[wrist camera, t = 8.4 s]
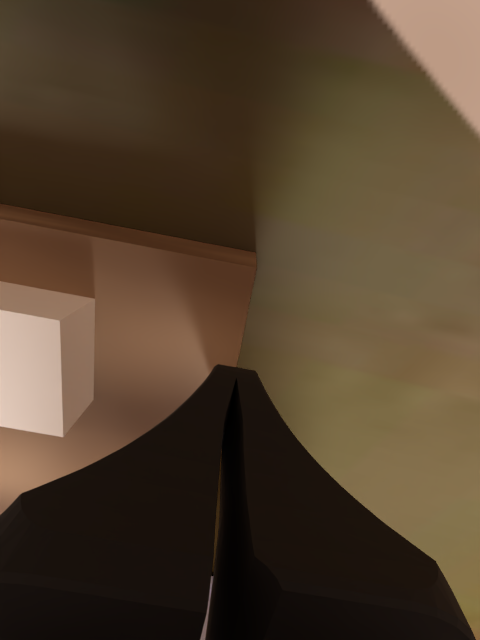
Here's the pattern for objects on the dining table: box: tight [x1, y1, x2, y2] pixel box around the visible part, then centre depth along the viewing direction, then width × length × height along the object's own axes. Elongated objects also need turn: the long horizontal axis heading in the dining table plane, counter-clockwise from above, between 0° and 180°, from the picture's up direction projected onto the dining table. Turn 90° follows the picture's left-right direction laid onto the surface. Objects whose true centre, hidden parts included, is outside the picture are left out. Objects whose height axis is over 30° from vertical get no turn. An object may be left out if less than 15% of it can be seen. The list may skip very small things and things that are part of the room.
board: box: [0, 204, 257, 515], centre depth 13 cm, size 14×13×3 cm
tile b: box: [0, 281, 95, 437], centre depth 10 cm, size 4×4×2 cm
